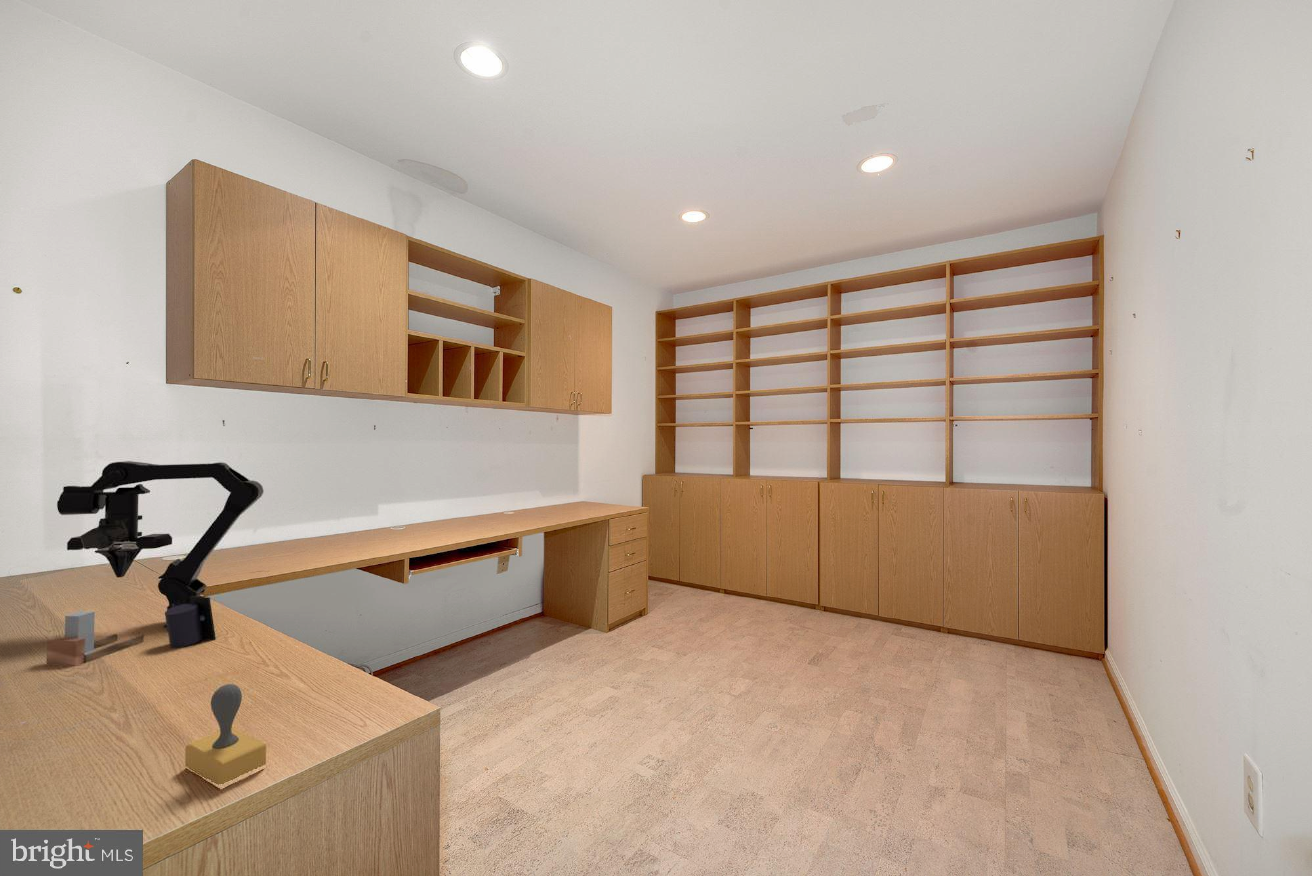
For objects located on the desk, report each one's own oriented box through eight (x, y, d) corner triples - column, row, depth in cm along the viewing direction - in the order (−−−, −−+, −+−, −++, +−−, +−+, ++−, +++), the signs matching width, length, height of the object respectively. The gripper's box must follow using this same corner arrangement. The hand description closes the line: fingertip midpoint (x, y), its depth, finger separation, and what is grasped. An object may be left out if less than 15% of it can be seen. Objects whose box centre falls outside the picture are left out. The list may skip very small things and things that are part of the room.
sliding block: (76, 653, 114) (77, 611, 114) (98, 654, 114) (99, 611, 114) (59, 659, 111) (60, 615, 111) (82, 660, 111) (83, 616, 111)
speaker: (207, 633, 127) (203, 591, 126) (216, 639, 124) (212, 596, 123) (165, 646, 121) (160, 602, 120) (173, 653, 118) (169, 608, 116)
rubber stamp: (183, 769, 75) (185, 685, 76) (231, 749, 81) (233, 670, 81) (219, 791, 71) (220, 701, 71) (267, 768, 76) (268, 684, 76)
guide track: (114, 640, 122) (114, 618, 122) (143, 641, 122) (143, 619, 122) (44, 664, 109) (45, 640, 109) (77, 665, 109) (77, 641, 109)
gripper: (44, 517, 120) (42, 587, 119) (138, 517, 122) (137, 584, 122) (89, 511, 131) (87, 574, 130) (174, 511, 133) (173, 573, 133)
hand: (120, 577), depth 129 cm, fingers closed
